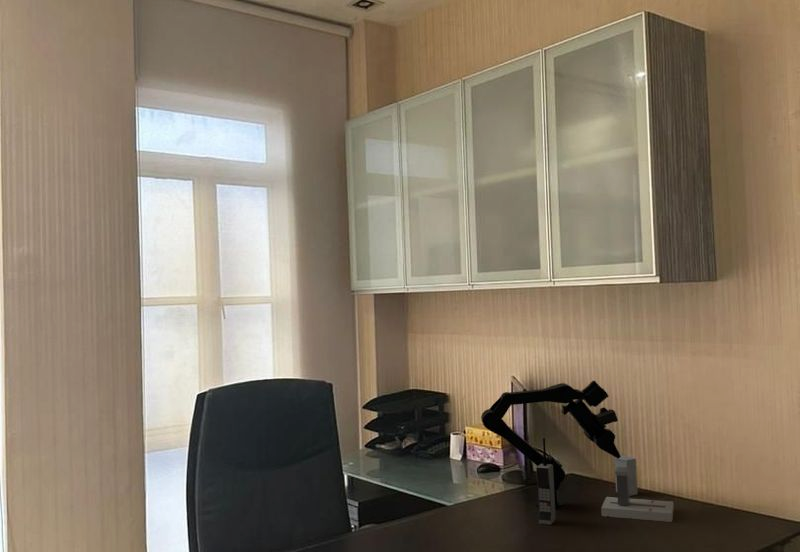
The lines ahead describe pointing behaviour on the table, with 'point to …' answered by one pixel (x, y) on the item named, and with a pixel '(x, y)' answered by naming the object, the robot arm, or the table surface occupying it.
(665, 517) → the block
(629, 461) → the skincare box
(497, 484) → the table surface
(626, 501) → the fader tab
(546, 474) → the vintage mobile phone
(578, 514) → the table surface
